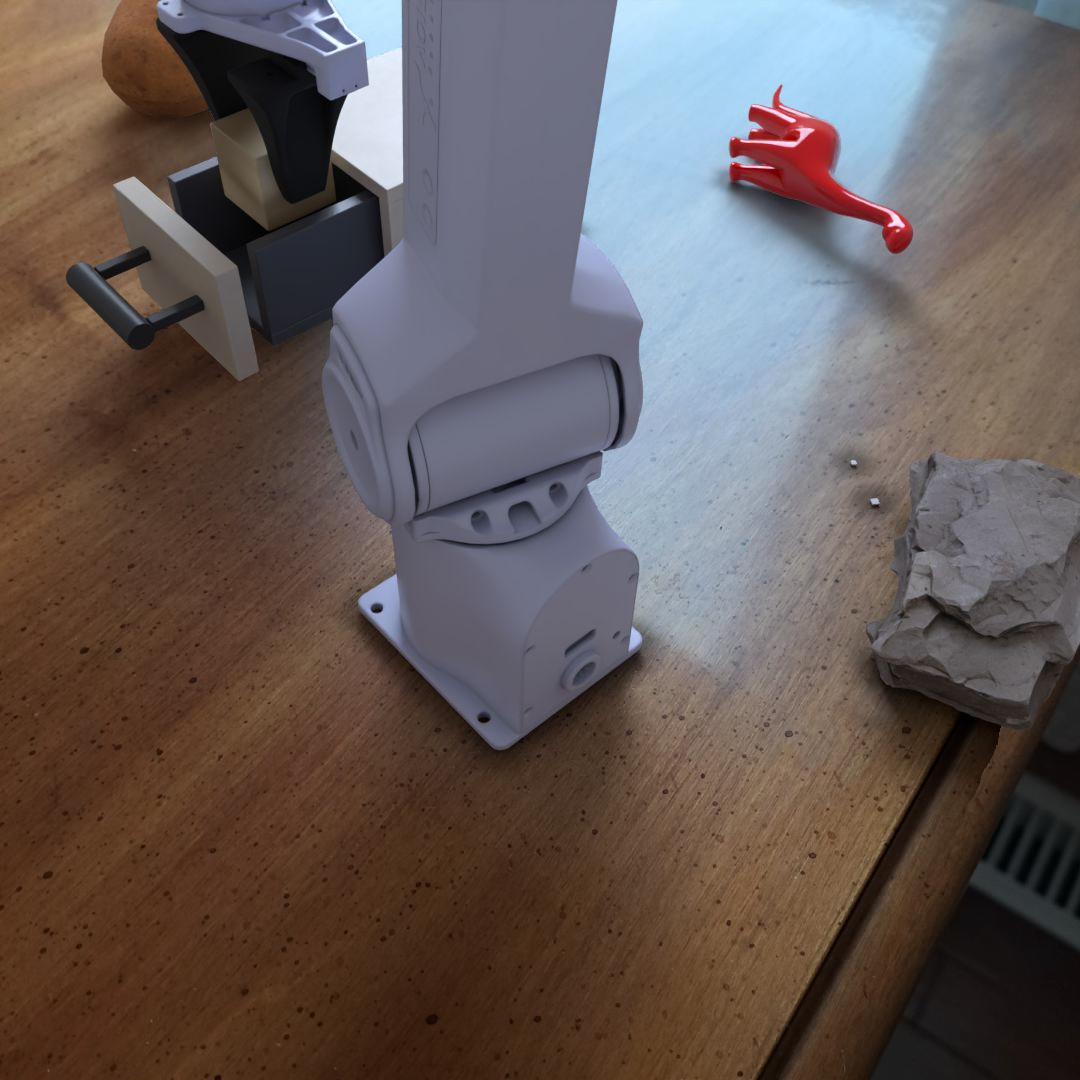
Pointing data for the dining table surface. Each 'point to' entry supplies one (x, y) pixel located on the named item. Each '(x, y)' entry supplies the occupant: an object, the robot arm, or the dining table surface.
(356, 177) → the cabinet
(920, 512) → the rock
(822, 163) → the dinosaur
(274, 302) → the drawer
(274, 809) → the dining table surface
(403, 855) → the dining table surface
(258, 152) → the block
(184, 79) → the potato
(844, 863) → the dining table surface
